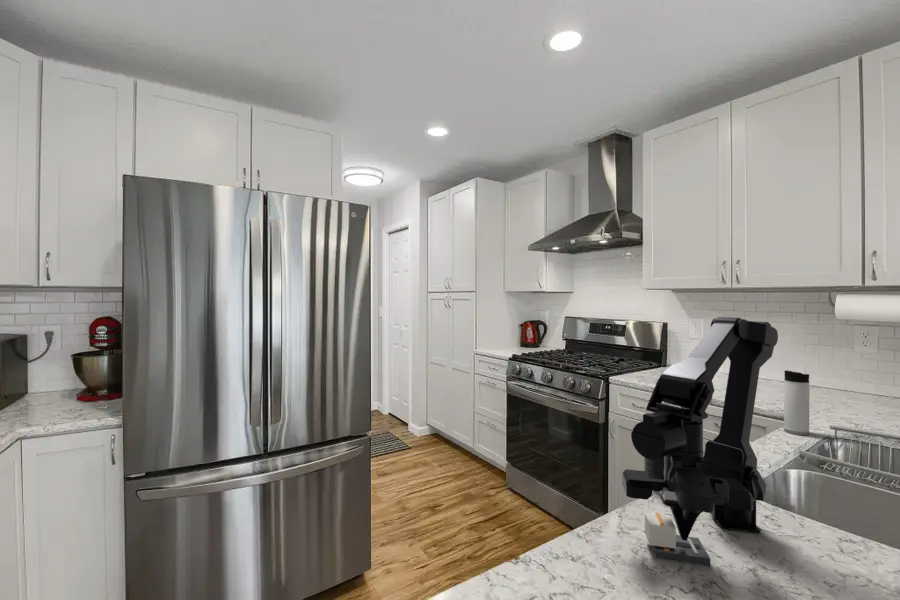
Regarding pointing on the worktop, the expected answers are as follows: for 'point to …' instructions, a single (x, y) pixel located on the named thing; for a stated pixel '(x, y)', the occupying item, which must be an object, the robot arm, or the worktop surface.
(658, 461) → the supplement bottle
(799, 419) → the travel mug
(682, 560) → the panel
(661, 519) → the block
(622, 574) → the worktop surface
